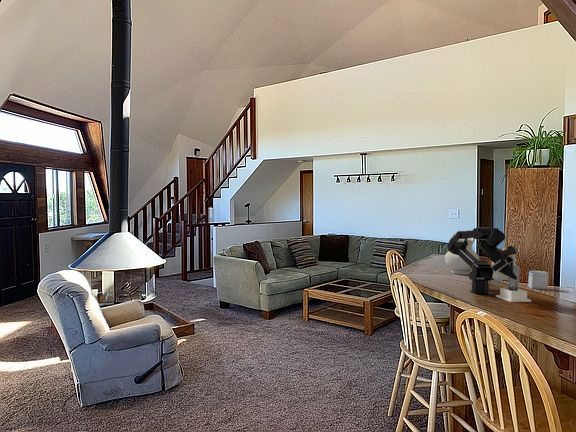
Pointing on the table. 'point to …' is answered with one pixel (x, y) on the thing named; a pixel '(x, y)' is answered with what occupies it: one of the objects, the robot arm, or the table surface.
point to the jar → (497, 274)
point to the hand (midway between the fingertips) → (517, 278)
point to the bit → (512, 282)
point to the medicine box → (538, 280)
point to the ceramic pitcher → (460, 259)
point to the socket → (513, 295)
